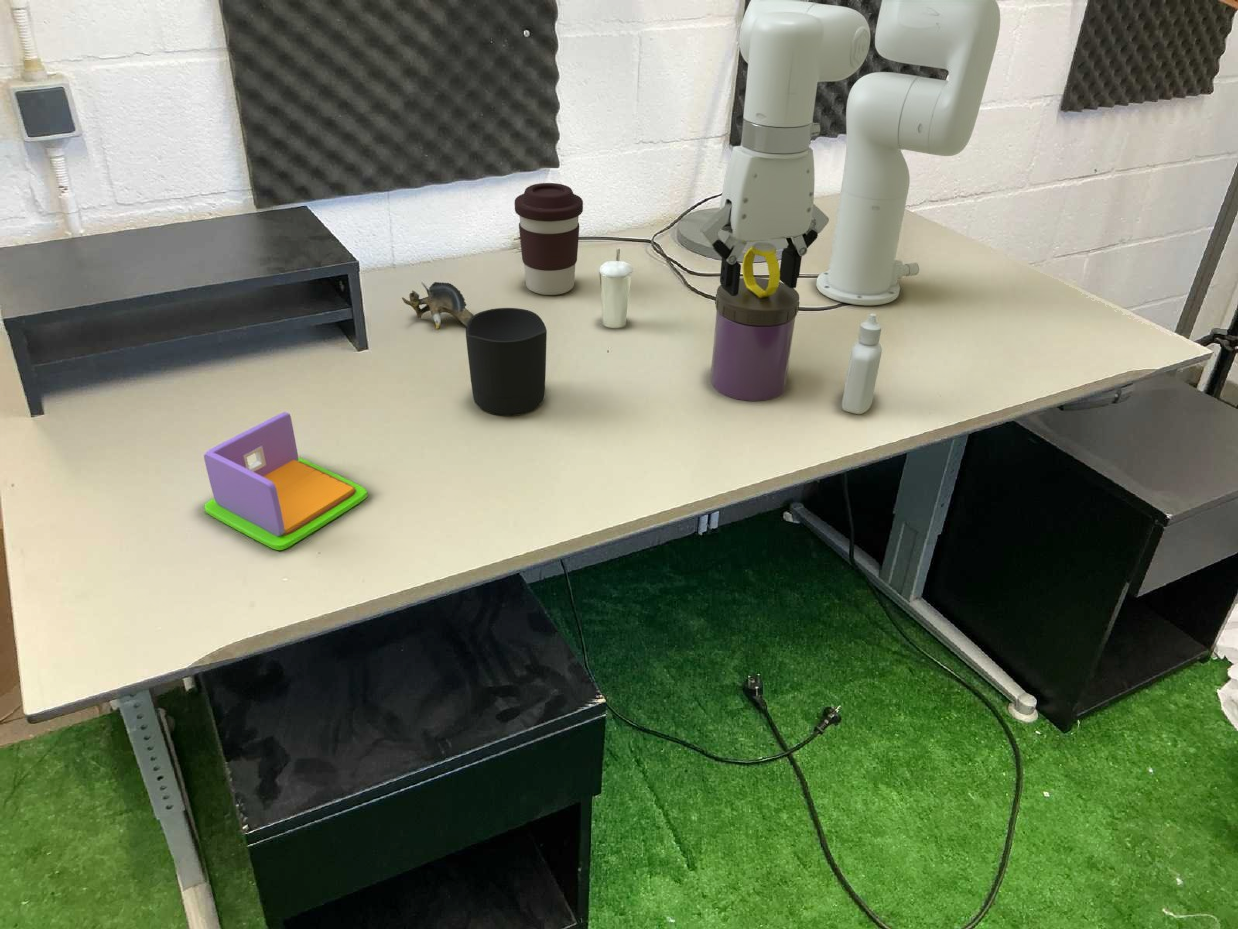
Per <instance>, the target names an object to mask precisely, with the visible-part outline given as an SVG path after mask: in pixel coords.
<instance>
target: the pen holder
mask: <svg viewBox="0 0 1238 929" xmlns="http://www.w3.org/2000/svg"><path fill="white" fill-rule="evenodd" d="M473 315H474V316H472V318H471V319H470V320H469V322H468V324H467V326H465V341H466V349H467V350H466V351H467V359H468V368H469V377H470V386H471V392H472V398H473V402H474V403H475V405H476V406H477V407H478V408H479V409H480V410H482V411H483V412H486V413H488V414H491V415H495V416H502V417H503V416H505V417H511V416H520V415H525V414H528V413H530V412H532V411H534V410H536V409H537V408H538V407H540V405H541V404H542V403H543V402H544V400H545V394H546V376H547V374H546V373H547V372H546V369H547V336H548V332H547V327H546V325H545V323H544V321H543V319H542V318H541V317H540V315H538V314H537V313H535V312H534V311H532V310H530V309H524V308H518V307H499V308H498V307H497V308H491V309H487V310H483V311H479V312H477V313H475V314H473Z"/></svg>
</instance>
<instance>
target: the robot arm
mask: <svg viewBox="0 0 1238 929" xmlns="http://www.w3.org/2000/svg"><path fill="white" fill-rule="evenodd" d="M876 23H877V24H876V28H875V36H874V47H875V50H876V52H877V54H878V55H879V56H881V57H882V58H883V59H886V60H888V61H892V62H897V63H901V64H908V65H914V66H921V67H930V68H934V69H935V68H936V69H941V70H942V69H943V70H946V71H948V79H947V80H946V79H938V78H932V77H925V76H921V75H913V74H906V73H900V72H891V71H888V72H887V71H877V72H875V71H874V72H870V73H868V74H865V75H863V76H861V77H860V78H859V79H858V80H856V82H855V83H854V84H853V85H852V87H851V89H850V90H849V93H848V97H847V100H846V110H845V111H846V112H845V121H846V123H845V126H846V141H845V142H846V144H845V145H846V146H845V156H844V157H845V158H844V164H843V165H844V166H843V175H842V180H841V187H840V192H839V193H840V194H839V199H838V207H837V213H836V219H835V225H834V233H833V239H832V246H831V252H830V259H829V265H828V270H825V271H823V272H821V273H820V274H819V275H818V276H817V278H816V282H815V285H816V288H817V290H818V291H819V293H821V294H822V295H824V296H825V297H827V298H829V299H831V300H834V301H837V302H840V303H844V304H847V305H848V304H849V305H856V306H880V305H885V304H888V303H889V304H890V303H891V302H893V301H895V300H896V299H898V298H899V296H900V290H901V286H900V284H899V283H898V280H901V279H902V277H912V276H918V275H919V273H920V265H919V263H917V262H909V263H905V264H903V261H902V260H901V259H896V258H897V251H898V246H899V241H900V236H901V231H902V226H903V221H904V216H905V211H906V204H907V200H908V194H909V189H910V182H911V181H910V180H911V177H910V170H909V167H908V164H907V162H906V161H907V160H906V159H905V156H904V154H903V152H902V151H903V150H905V151H908V152H909V151H910V152H916V153H921V154H927V155H933V156H940V157H952V156H956V155H958V154H960V153H961V152H963V151H964V150H965V148H966V147H967V145H968V144H969V142H970V139H971V137H972V134H973V132H974V129H975V126H976V122H977V118H978V116H979V112H980V108H981V104H982V101H983V97H984V93H985V89H986V86H987V81H988V78H989V75H990V72H991V71H990V70H991V67H992V64H993V60H994V56H995V52H996V48H997V46H998V45H997V44H998V40H999V35H1000V28H1001V10H1000V7H999V4H998V2H997V0H881V5H880V8H879V13H878V18H877V21H876ZM738 44H739V51H740V54H741V56H742V58H743V60H744V61H745V62H746V63H747V74H746V84H745V86H746V87H745V94H744V104H743V105H744V107H743V117H742V126H741V135H740V136H741V137H740V145H736V146H734V147H733V148H732V151H731V154H730V157H729V161H728V163H727V167H726V172H725V175H724V181H723V185H722V190H721V197H720V203H719V210H718V211H717V212H716V213H715V214H714V215H713V216H712V217H711V218H710V219H708V220H707V221H706V222H705V223H704V224H703V225H702V226H701V227H700V229H699V233H700V234H701V235H702V237H703V238H704V239H705V241H706V242H707V243H708V245H709V246H710V247H711V248H712V250H714V252H716V253H717V255H718V256H720V258H721V263H720V272H719V273H720V274H719V283H720V284H719V285H722V288H723V289H724V290H725V291H727V292H728V293H729V294H730V295H731V296H736V295H737V294H738V291H739V281H740V278H741V272H742V271H741V270H742V266H741V263H740V262H739V261H738V260H739V258H740V257H741V255H742V253H743V251H744V249H745V248H746V246H747V244H748V243H754V242H764V241H772V240H781V239H784V241H785V243H786V247H783V249H782V251H781V257H780V264H779V269H780V279H779V282H781V283H784V284H786V285H787V286H788V287H790V288H794V289H796V288H797V285H798V278H799V277H800V274H801V273H800V272H801V265H802V258H803V257H804V256H805V255H806V254H808V248H809V247H810V246H812V244H813V243H814V242H816V240H817V239H818V237H819V234H820V233H821V232H822V231H823V230H824V228H826V226H827V225H828V224H829V222H830V218H829V216H827V214H825V213H824V212H823V211H822V210H821V209H820V208H819V207H818V206H817V205H816V204H815V203H814V200H815V181H816V180H815V178H816V177H815V157H814V150H813V149H812V148H811V147H810V145H811V143H812V137H815V136H819V135H820V133H821V124H820V123H819V122H814V120H813V119H814V112H815V105H816V99H817V98H816V97H817V88H818V83H821V82H822V83H823V82H839V81H843V80H846V79H847V78H849V77H852V75H853V74H855V73H856V72H858V70H859V69H860V68H861V67H862V66H863V63H864V62H865V60H866V59H867V55H868V54H869V50H870V45H871V29H870V25H869V23H868V21H867V19H866V17H865V16H864V15H863V14H862V13H861V12H859V11H858V10H855V9H854V8H851V7H846V6H842V5H836V4H835V5H833V4H824V3H818V2H811V1H803V0H750V1H749V3H748V5H747V7H746V10H745V12H744V15H743V18H742V21H741V25H740V29H739V37H738ZM721 230H722V231H724V232H727V234H726V235H725V237H724V239H723V241H722V239H721V238H720V236H719V232H720V231H721Z"/></svg>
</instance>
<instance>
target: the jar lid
mask: <svg viewBox="0 0 1238 929" xmlns="http://www.w3.org/2000/svg"><path fill="white" fill-rule="evenodd" d="M754 278H755V281H756V284H757V285H758V286H759V287H760V288H762V289H763V290H764V291H766V289H767V287H768V282H769V278H763V277H754ZM714 305H715V311H716V310H717V311H718V312H719V313H720V314H721V315H722V316H724V317H725V318H727V319H730V320H732V321H735V322H738V323H742V324H748V325H756V326H771V325H779V324H783V323H786V322H789V321H791V320H792V319H794V318H795V319H796V318H797V316H798V313H799V310H800V294H799V292H798V291H797V289H796V288H790V287H788V286H787V285H786V284H784V283H783V282H782V281H779V286H778V288H777V289H776V291H775V293H774V294H772V295H770V296H768V297H763V298H759V297H758V296H757V295H756V294H755V293H753V292H752V291H751V290H749V289H747V287H746V284H745V281H744V277H740V281H739V291H738V294H737V295H736V296H731V295H730V294H729V293H728V292H727V291H725V290H724V289H723V288H722V285H721V284H719V285H718V286H717V289H716V294H715V300H714Z"/></svg>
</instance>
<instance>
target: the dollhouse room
mask: <svg viewBox="0 0 1238 929" xmlns="http://www.w3.org/2000/svg"><path fill="white" fill-rule="evenodd" d="M254 454H255V460H256V461H254V462H252V463H250V464H249V461H248V457H251V456H253V455H254ZM203 460H204V464H205V467H206V468H205V469H206V472H207V476H208V481H209V484H210V488H211V492H212V496H213V498H212V499H210V500H209V501H207V502H206V503H205V504H204V511H205V513H206V514H208V515H209V516H211V517H213V518H214V519H216V520H218V521H219V522H222V523H223V524H225V525H227V526H229V527H231V528H232V529H234V530H236V531H238V532H239V533H242V534H243V535H245V536H247V537H249V538H251V539H253V540H255V541H256V542H258V543H260V544H262V545H264V546H266V547H268V548H270V549H272V550H276V551H283V550H286V549H288V548H290V547H292V546H293V545H295V544H297V543H298V542H300V541H301V540H303V539H305V538H307V537H308V536H310V535H311V534H313V533H314V532H317V531H318V530H319V529H321V528H322V527H324V526H325V525H327V524H329V523H330V522H332V521H334V520H335V519H337V518H338V517H340V516H341V515H343V514H344V513H346V512H347V511H350V510H351V509H353V508H354V507H355V506H357V505H358V504H360V503H362V502H363V501H365V499H366V498H367V497H368V491H367V489H366V488H365V487H363V486H361V485H360V484H358V483H356V482H353V481H351V480H349V479H347V478H345V477H343V476H341V475H339V474H337V473H335V472H333V471H330V470H328V469H326V468H324V467H322V466H320V465H318V464H315V463H313V462H311V461H309V460H306V459H304V458H301V457H299V454H298V447H297V442H296V437H295V431H294V425H293V421H292V417H291V413H289V412H286V411H283V412H281V413H279V414H277V415H275V416H273V417H271V418H269V419H267V420H265V421H263V422H261V423H259V424H257V425H255V426H252V427H251V428H249V429H247V430H245V431H243V432H241V433H239V434H237V435H235V436H233V437H232V438H229V439H227V440H225V441H223V442H221V443H220V444H217V445H216V446H214V447H212V448H210V449H209V450H207V451H205V453H204V454H203Z"/></svg>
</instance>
